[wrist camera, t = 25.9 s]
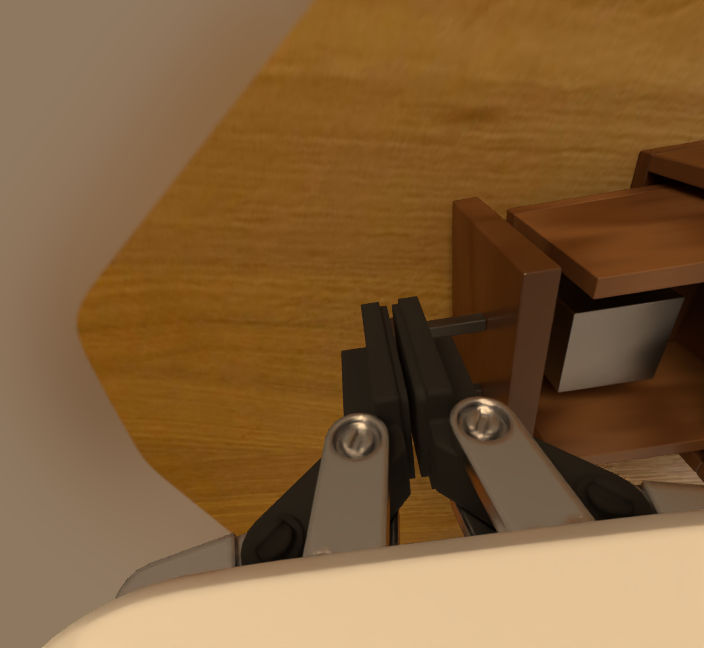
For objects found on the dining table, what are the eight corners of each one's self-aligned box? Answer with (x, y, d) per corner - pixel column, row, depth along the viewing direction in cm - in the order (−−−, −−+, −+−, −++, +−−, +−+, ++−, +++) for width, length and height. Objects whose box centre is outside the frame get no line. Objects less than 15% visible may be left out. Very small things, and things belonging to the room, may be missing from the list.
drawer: (386, 389, 24) (409, 504, 18) (363, 215, 18) (385, 295, 12) (667, 347, 24) (795, 450, 17) (744, 152, 18) (989, 200, 11)
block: (517, 337, 21) (557, 393, 18) (526, 266, 19) (574, 313, 15) (597, 325, 21) (653, 379, 18) (615, 252, 19) (686, 296, 15)
